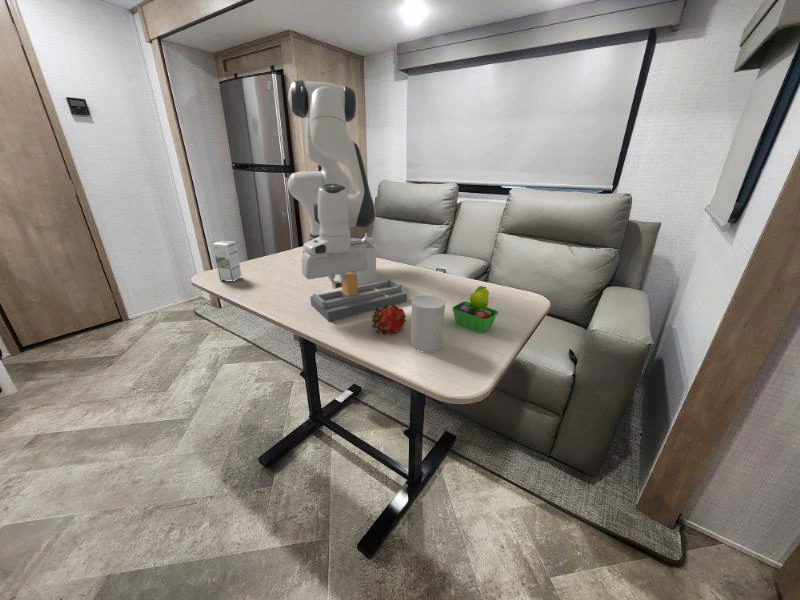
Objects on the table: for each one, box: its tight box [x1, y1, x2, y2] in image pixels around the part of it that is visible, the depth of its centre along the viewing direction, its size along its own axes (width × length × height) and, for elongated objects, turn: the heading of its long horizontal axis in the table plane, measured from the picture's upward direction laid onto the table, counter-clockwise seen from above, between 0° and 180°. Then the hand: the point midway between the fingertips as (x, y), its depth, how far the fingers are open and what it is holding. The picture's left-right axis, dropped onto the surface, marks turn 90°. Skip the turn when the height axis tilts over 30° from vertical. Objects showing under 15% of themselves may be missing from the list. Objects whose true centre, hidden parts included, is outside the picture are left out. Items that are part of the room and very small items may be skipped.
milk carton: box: [355, 232, 377, 286], centre depth 120 cm, size 7×7×19 cm
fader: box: [341, 272, 359, 298], centre depth 102 cm, size 5×4×7 cm
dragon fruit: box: [371, 304, 407, 336], centre depth 88 cm, size 8×8×12 cm
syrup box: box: [212, 240, 243, 281], centre depth 122 cm, size 6×6×14 cm
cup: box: [409, 294, 446, 353], centre depth 82 cm, size 8×8×12 cm
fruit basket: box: [451, 285, 499, 334], centre depth 93 cm, size 11×9×11 cm
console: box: [310, 278, 408, 322], centre depth 106 cm, size 14×29×5 cm, turn 125°
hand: (337, 287), depth 100 cm, fingers closed
